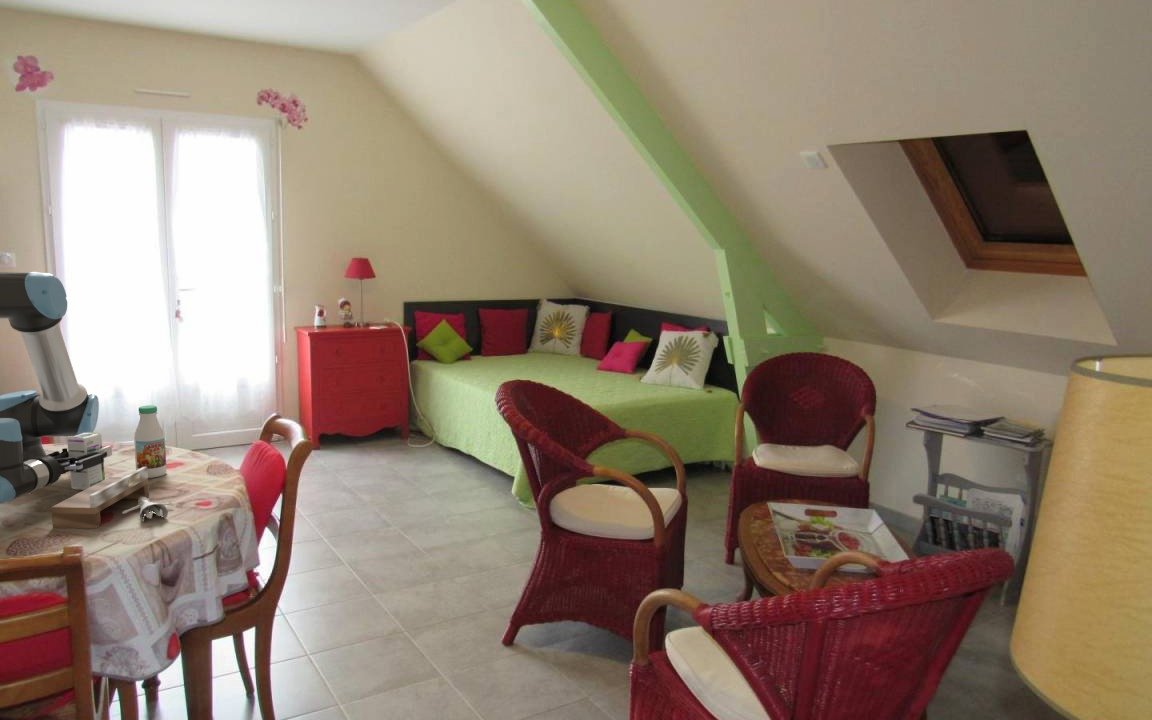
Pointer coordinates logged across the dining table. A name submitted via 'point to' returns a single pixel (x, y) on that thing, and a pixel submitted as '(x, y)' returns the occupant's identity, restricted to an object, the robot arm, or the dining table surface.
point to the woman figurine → (150, 508)
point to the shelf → (98, 500)
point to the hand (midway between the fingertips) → (98, 449)
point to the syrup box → (81, 447)
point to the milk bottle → (150, 443)
